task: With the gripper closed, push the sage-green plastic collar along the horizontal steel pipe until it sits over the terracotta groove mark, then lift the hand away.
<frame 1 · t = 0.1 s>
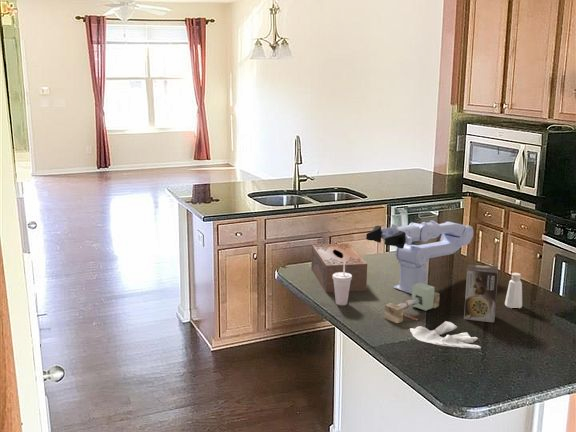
hand: (376, 239, 196), 22 cm above the counter, tool horizontal, fingers open, 7 cm apart
cloth: (450, 338, 176), on the counter
collar: (422, 296, 195), point 4 cm above the counter, slide at 0.0 cm
tissue box cover: (337, 280, 223), on the counter
pipe supports: (412, 312, 193), on the counter
printed cardboard box: (478, 318, 189), on the counter
smoothie: (341, 303, 200), on the counter
pipe: (412, 302, 192), point 3 cm above the counter
pepper shaker: (513, 306, 198), on the counter
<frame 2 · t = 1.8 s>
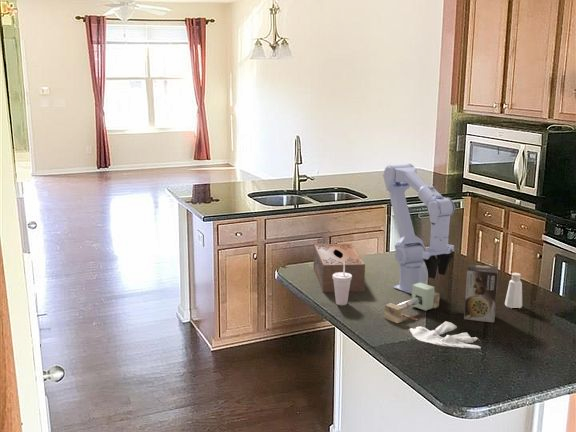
hand: (436, 276, 198), 9 cm above the counter, tool pointing down, fingers open, 5 cm apart
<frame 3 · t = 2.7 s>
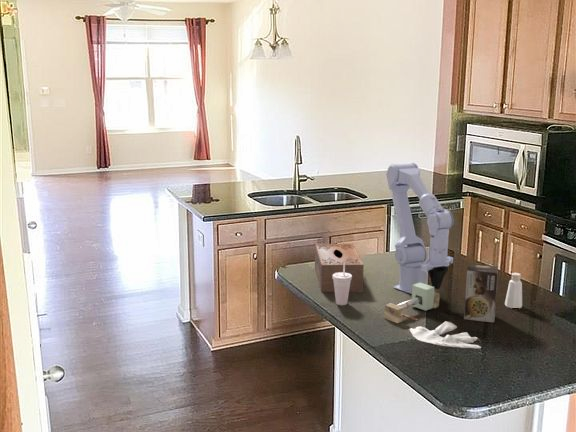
hand: (436, 288, 199), 5 cm above the counter, tool pointing down, fingers closed
nothing on the counter moved.
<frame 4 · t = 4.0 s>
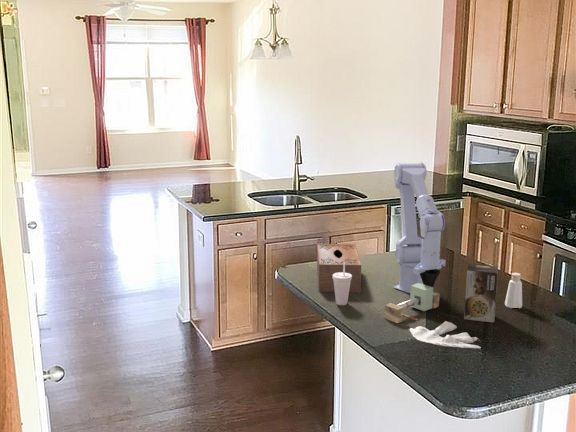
hand: (428, 291, 196), 5 cm above the counter, tool pointing down, fingers closed
collar: (421, 296, 194), point 4 cm above the counter, slide at 0.7 cm, touching gripper
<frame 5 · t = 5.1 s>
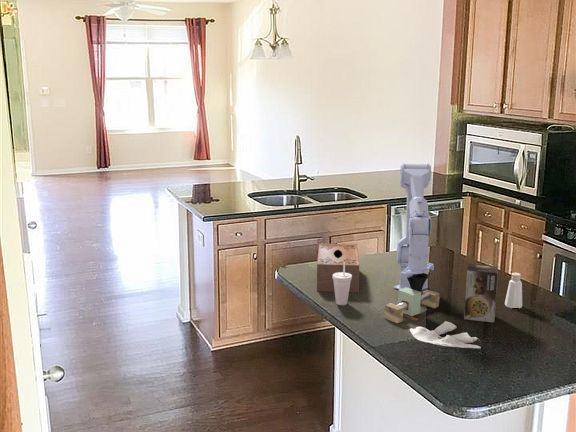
hand: (415, 295, 192), 5 cm above the counter, tool pointing down, fingers closed
collar: (409, 301, 190), point 4 cm above the counter, slide at 7.0 cm, touching gripper
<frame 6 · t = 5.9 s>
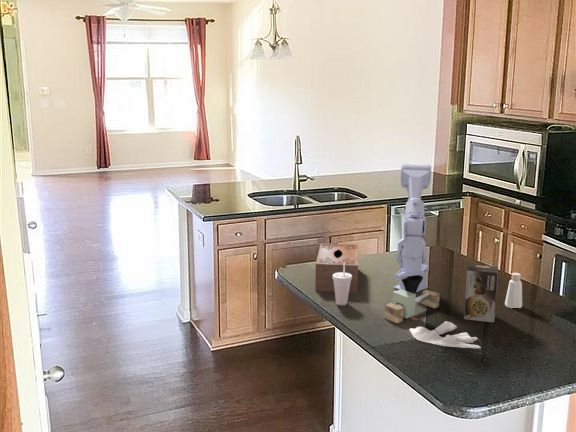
hand: (410, 297, 190), 5 cm above the counter, tool pointing down, fingers closed
collar: (403, 303, 189), point 4 cm above the counter, slide at 9.7 cm, touching gripper
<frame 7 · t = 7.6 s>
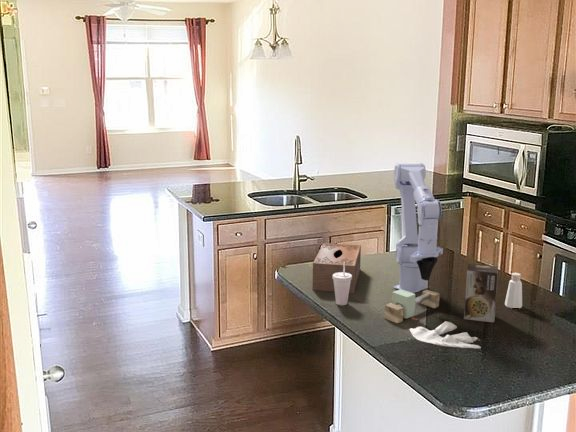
hand: (425, 279, 195), 9 cm above the counter, tool pointing down, fingers closed
collar: (403, 303, 188), point 4 cm above the counter, slide at 9.8 cm
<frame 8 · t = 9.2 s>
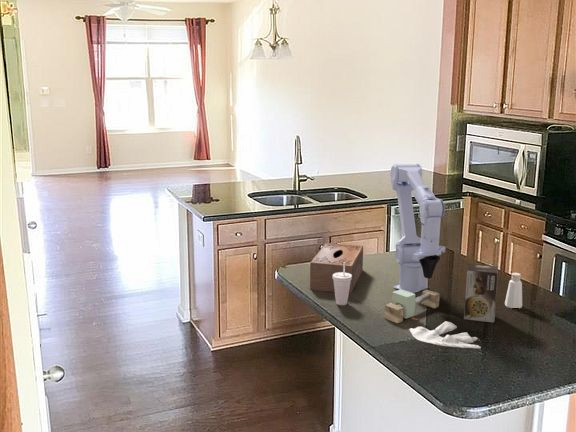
hand: (427, 277, 196), 9 cm above the counter, tool pointing down, fingers closed
at the end: collar slide at 9.8 cm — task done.
